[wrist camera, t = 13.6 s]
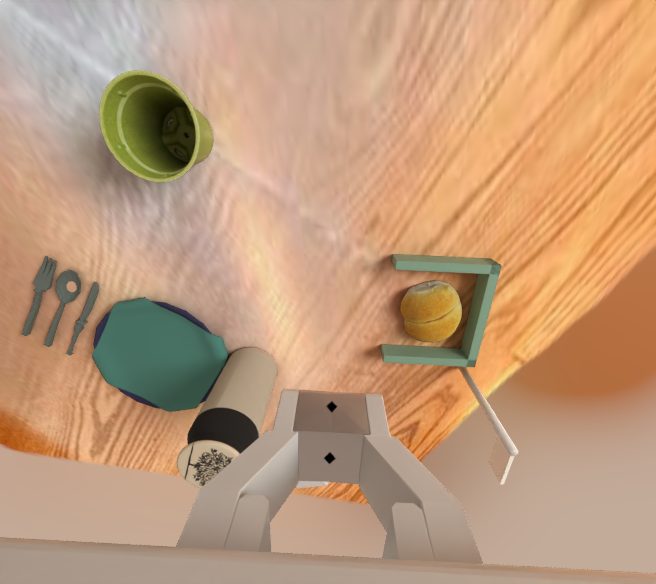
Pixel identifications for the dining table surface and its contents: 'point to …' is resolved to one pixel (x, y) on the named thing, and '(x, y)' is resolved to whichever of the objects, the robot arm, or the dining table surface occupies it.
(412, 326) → the bread roll
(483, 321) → the green pocket
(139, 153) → the plant pot
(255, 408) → the travel mug
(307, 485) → the die
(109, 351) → the cutlery set
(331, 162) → the dining table surface
